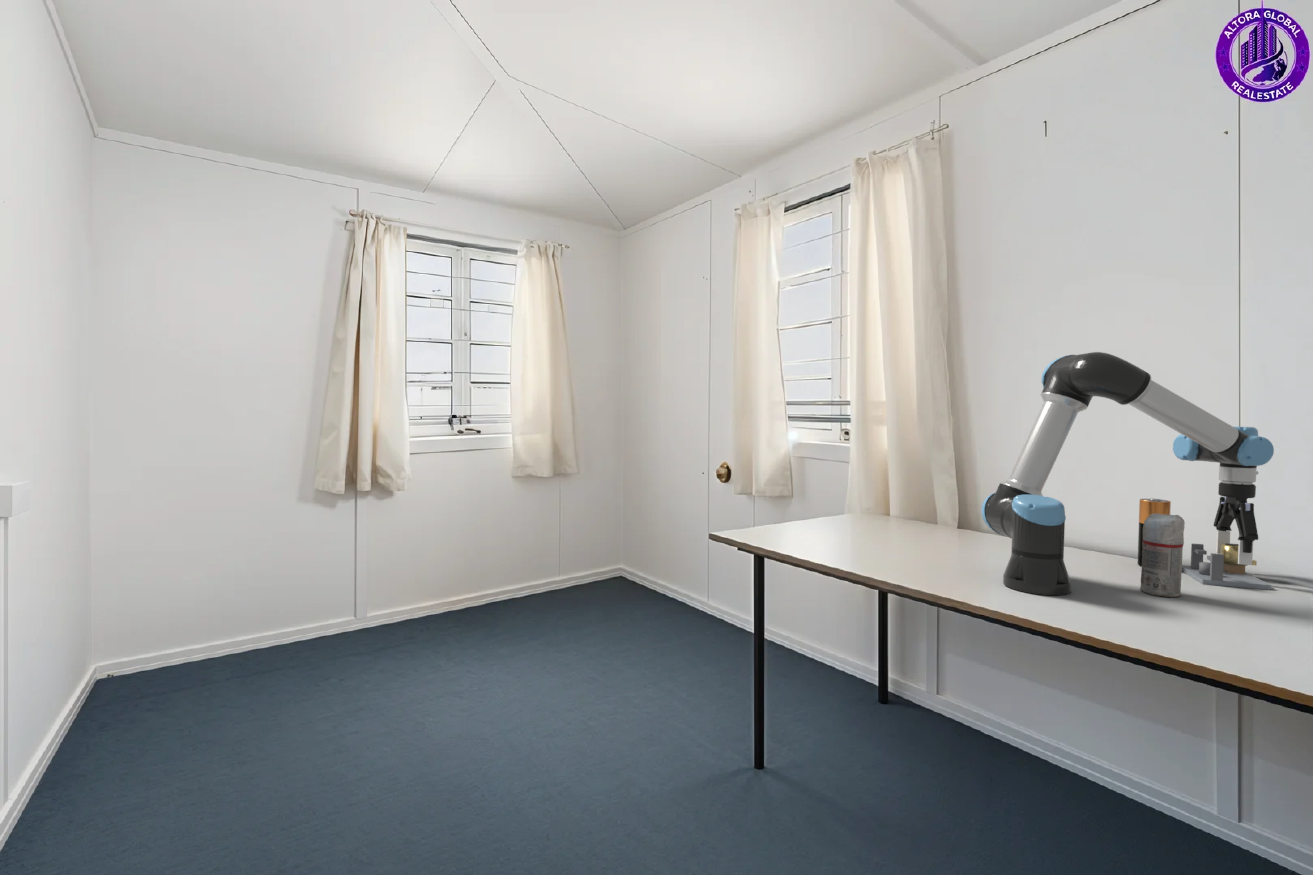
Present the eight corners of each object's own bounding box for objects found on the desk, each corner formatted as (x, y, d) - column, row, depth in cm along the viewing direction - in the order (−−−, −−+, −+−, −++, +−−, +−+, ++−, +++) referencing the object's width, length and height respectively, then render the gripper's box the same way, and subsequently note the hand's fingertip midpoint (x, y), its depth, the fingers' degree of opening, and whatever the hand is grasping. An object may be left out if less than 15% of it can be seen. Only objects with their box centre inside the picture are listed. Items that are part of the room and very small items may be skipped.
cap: (1250, 562, 175) (1251, 543, 174) (1260, 567, 169) (1261, 547, 169) (1208, 559, 178) (1209, 540, 178) (1217, 564, 173) (1217, 544, 173)
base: (1202, 584, 166) (1203, 553, 166) (1178, 568, 182) (1179, 540, 182) (1271, 590, 161) (1272, 558, 161) (1240, 573, 177) (1241, 544, 176)
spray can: (1190, 599, 153) (1193, 518, 152) (1151, 597, 155) (1154, 516, 154) (1169, 589, 162) (1172, 512, 161) (1133, 587, 163) (1135, 511, 162)
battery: (1138, 567, 184) (1140, 499, 183) (1136, 562, 190) (1139, 496, 189) (1169, 570, 180) (1171, 501, 179) (1167, 565, 186) (1169, 498, 185)
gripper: (1278, 488, 160) (1274, 570, 161) (1234, 478, 183) (1230, 550, 184) (1240, 486, 163) (1236, 567, 164) (1201, 477, 186) (1198, 548, 187)
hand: (1233, 559), depth 174 cm, fingers open, 13 cm apart
